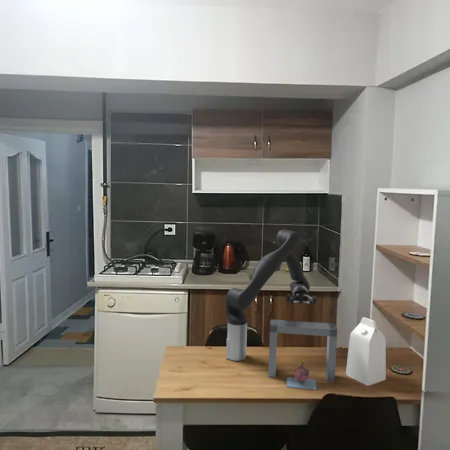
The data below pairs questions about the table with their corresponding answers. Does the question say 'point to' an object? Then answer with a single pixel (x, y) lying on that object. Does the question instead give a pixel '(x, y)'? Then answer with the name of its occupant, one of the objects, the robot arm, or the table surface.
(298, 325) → the grey arch
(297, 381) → the pad
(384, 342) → the milk
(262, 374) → the table surface
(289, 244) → the robot arm
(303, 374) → the vegetable
